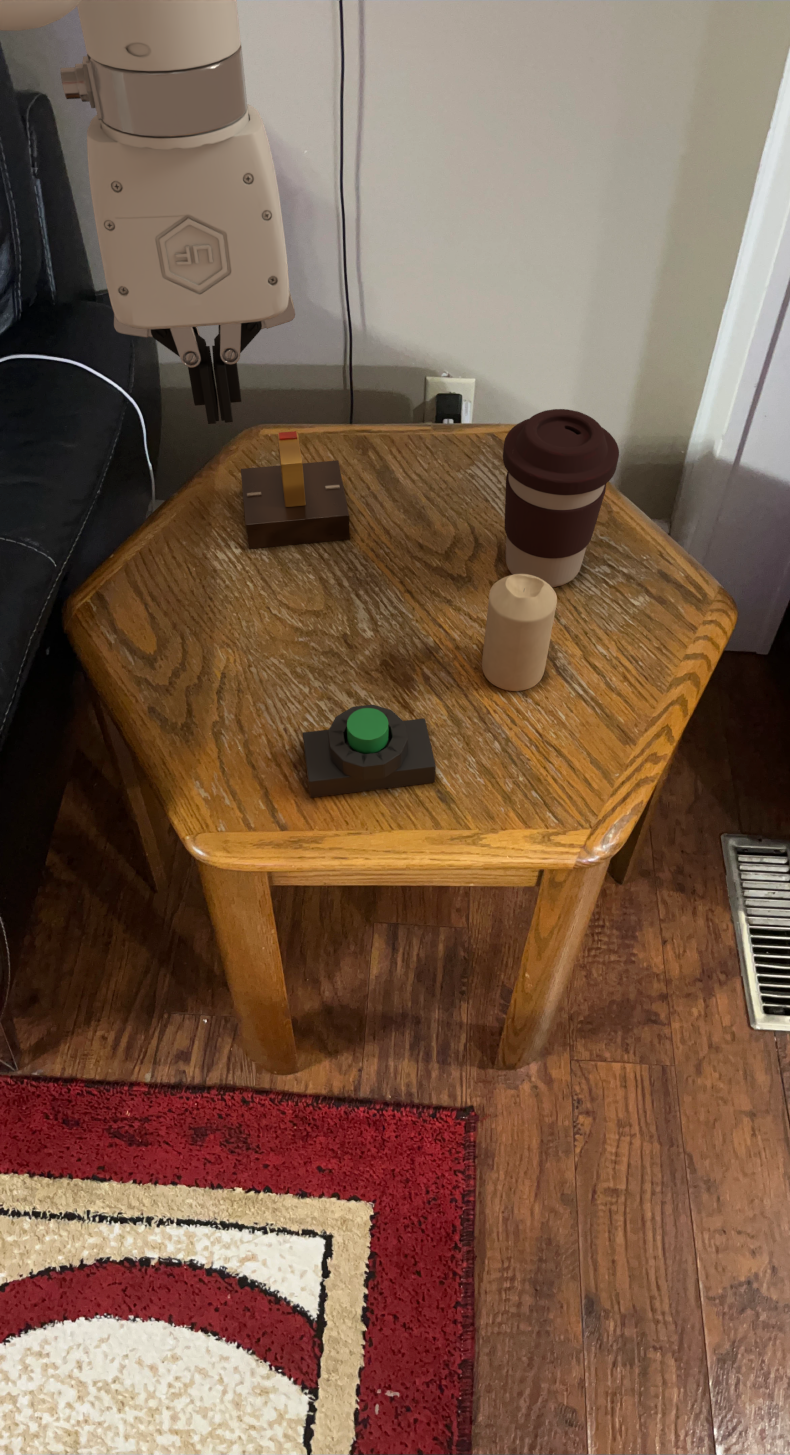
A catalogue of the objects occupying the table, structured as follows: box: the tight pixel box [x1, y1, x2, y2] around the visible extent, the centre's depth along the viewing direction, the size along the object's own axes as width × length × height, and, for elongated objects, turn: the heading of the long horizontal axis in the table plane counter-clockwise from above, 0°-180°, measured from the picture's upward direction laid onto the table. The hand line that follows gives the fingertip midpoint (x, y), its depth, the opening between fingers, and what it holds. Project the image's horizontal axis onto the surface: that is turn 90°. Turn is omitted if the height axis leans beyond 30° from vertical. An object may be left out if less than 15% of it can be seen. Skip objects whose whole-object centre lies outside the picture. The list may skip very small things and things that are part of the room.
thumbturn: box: [277, 430, 306, 507], centre depth 95 cm, size 5×2×5 cm, turn 9°
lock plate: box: [240, 459, 351, 550], centre depth 98 cm, size 10×9×3 cm
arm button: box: [347, 708, 388, 754], centre depth 76 cm, size 3×3×2 cm
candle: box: [481, 574, 558, 692], centre depth 82 cm, size 6×6×10 cm
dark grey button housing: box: [302, 704, 437, 798], centre depth 78 cm, size 10×6×4 cm, turn 99°
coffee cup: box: [502, 408, 620, 588], centre depth 89 cm, size 10×10×15 cm
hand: (219, 410), depth 63 cm, fingers closed
